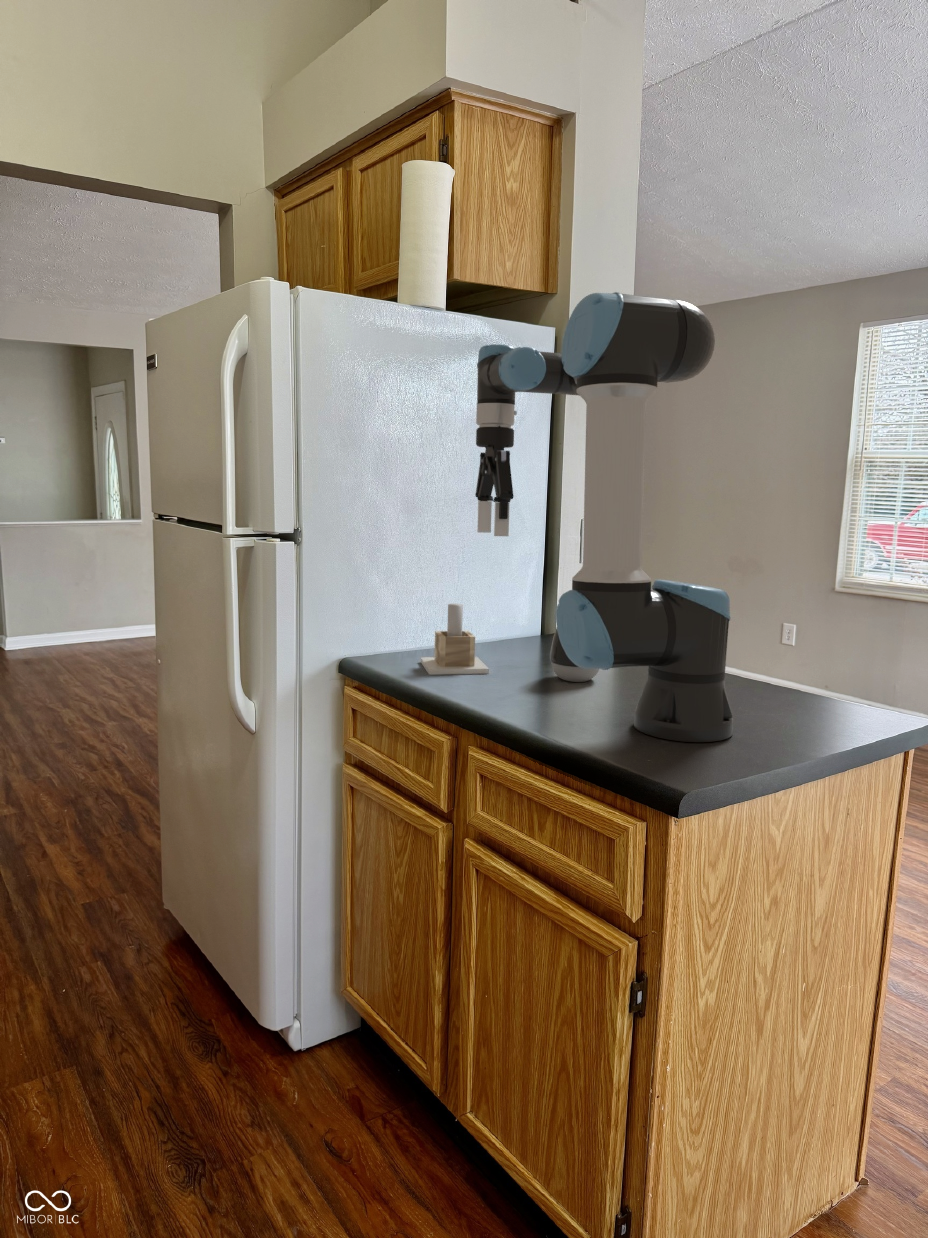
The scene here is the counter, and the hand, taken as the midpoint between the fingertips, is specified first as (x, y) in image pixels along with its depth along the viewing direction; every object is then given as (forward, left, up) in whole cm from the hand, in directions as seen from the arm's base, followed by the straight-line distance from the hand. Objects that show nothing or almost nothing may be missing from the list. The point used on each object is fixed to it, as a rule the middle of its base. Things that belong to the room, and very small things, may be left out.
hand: (492, 534), depth 178 cm
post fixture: (-1, +7, -27) cm, 28 cm away
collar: (-1, +7, -26) cm, 27 cm away
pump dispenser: (-13, -15, -27) cm, 34 cm away
